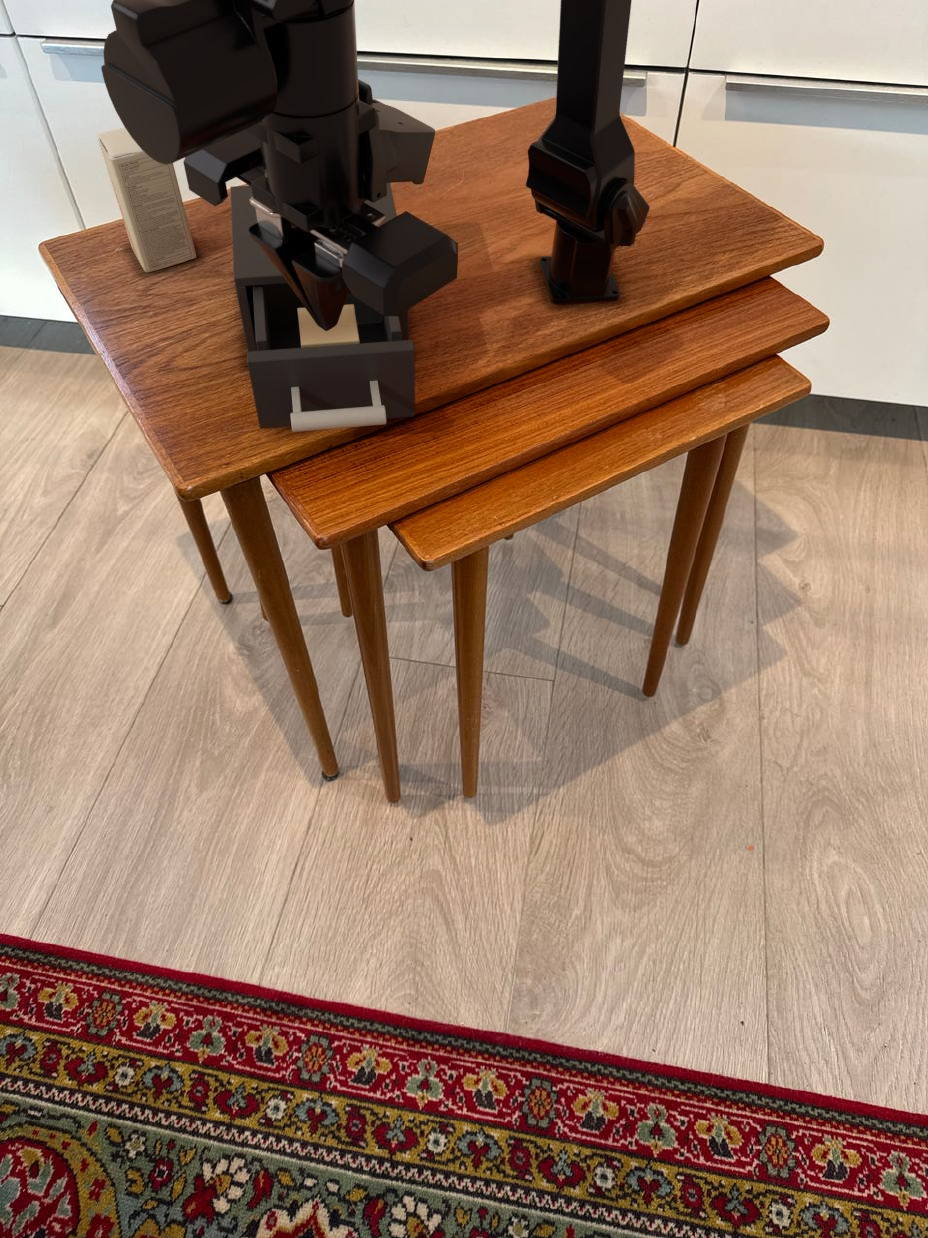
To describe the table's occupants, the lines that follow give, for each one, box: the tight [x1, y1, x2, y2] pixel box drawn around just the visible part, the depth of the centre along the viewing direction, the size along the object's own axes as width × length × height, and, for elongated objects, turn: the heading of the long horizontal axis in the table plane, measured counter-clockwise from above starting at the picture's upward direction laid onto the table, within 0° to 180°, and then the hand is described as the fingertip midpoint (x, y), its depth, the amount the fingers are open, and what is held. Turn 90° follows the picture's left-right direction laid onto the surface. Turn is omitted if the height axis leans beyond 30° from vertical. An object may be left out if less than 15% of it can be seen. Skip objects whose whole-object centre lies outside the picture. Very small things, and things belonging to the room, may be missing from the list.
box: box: [96, 127, 197, 273], centre depth 82 cm, size 5×4×11 cm
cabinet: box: [229, 183, 409, 352], centre depth 79 cm, size 13×14×9 cm
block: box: [297, 304, 360, 348], centre depth 74 cm, size 4×4×4 cm
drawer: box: [246, 283, 416, 433], centre depth 73 cm, size 16×12×7 cm
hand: (327, 326), depth 63 cm, fingers closed
